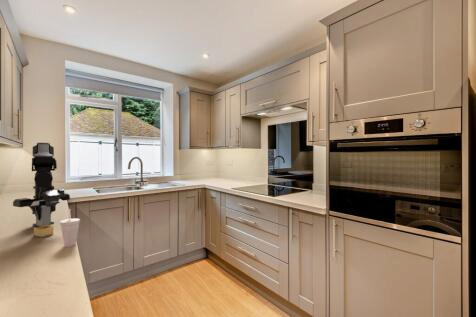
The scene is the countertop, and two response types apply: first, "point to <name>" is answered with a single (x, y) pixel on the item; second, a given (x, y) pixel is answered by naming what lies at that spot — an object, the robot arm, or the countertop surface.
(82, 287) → the countertop surface
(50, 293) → the countertop surface
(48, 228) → the socket block
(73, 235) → the smoothie
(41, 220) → the plug
